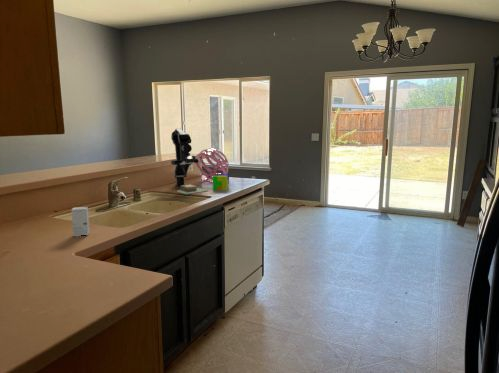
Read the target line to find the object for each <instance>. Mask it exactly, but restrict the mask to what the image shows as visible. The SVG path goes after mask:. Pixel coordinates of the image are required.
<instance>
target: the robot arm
mask: <svg viewBox="0 0 499 373" xmlns="http://www.w3.org/2000/svg"><path fill="white" fill-rule="evenodd" d="M191 138H192V137H191V136H190V133H187V132H184V131H183V129H182V128H175V129H174V131H172V132H171V140H172V144H173V145H174V148H175V149H174V150H175V159H172V160H171V161H170V162H171V165H173V166H174V165H175V167H174V172H173V178H175V179H176V181H175V182H176V183H175V184H174V186H178V187H181V186H182V185H187V184H186V183H185V178H186V177H187V174H188V169H189V168H190V166H191V165H192V164H193V163H194V164H196V163H198V164H199V163H200V159H199V158H197V159H196V155H194V154H193V155H191V153H190V152H192V149H193V148H192V145H191V144H192V139H191Z"/></svg>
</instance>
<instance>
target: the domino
mask: <svg viewBox="0 0 499 373" xmlns="http://www.w3.org/2000/svg"><path fill="white" fill-rule="evenodd" d="M197 188H198V187H197V185H193V184H186V185H182V186H180V190H183V191H187V192H190V191H197Z"/></svg>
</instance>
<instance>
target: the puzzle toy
mask: <svg viewBox="0 0 499 373" xmlns="http://www.w3.org/2000/svg"><path fill="white" fill-rule="evenodd" d="M212 177H213V180H212V182H213V183H212V191H228V190H229V189H230V174H229V173H227V174H223V173H219V174H215V175H213V176H212Z"/></svg>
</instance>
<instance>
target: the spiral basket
mask: <svg viewBox="0 0 499 373" xmlns="http://www.w3.org/2000/svg"><path fill="white" fill-rule="evenodd" d="M209 152H210V153H209ZM203 156H204V157H205V160H206V162H208V164H209V165H211V167H213V169H211V168H210V167H209V166H208V165H207V164H206V162H205V161H204V159H203ZM216 156H217V157H216ZM195 158H196V159H198V160H199V163H201V165H202V167H203V168H204V169H205V170H206V171H207V172H209V174H208V173H206V172H205V171H204V170H203V169H202V167H201V166H200V164H199V163H195V165H196V167H197V169H198V171H199V172H200V173H201V174H202V175H204V176H205V177H206V178H205V179H202V178H201V179H200V181H201V182H203V183H205V182H207V183H209V184H213V176H214V175H215V174H220V173H218V172H217V171H222V174H229V173H228V172H229V165H230V164H229V160H228V158H227V156H226V155H225V154H224V153H223V152H222V151H220V150H218V149H216V148H208V149H203V150H201V151H200V152H199V153H198V154H196V155H195ZM212 160H213V161H214V162H215V163H216V164H215V163H214V162H213V161H212ZM224 165H225V167H224ZM210 180H211V181H210Z"/></svg>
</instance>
